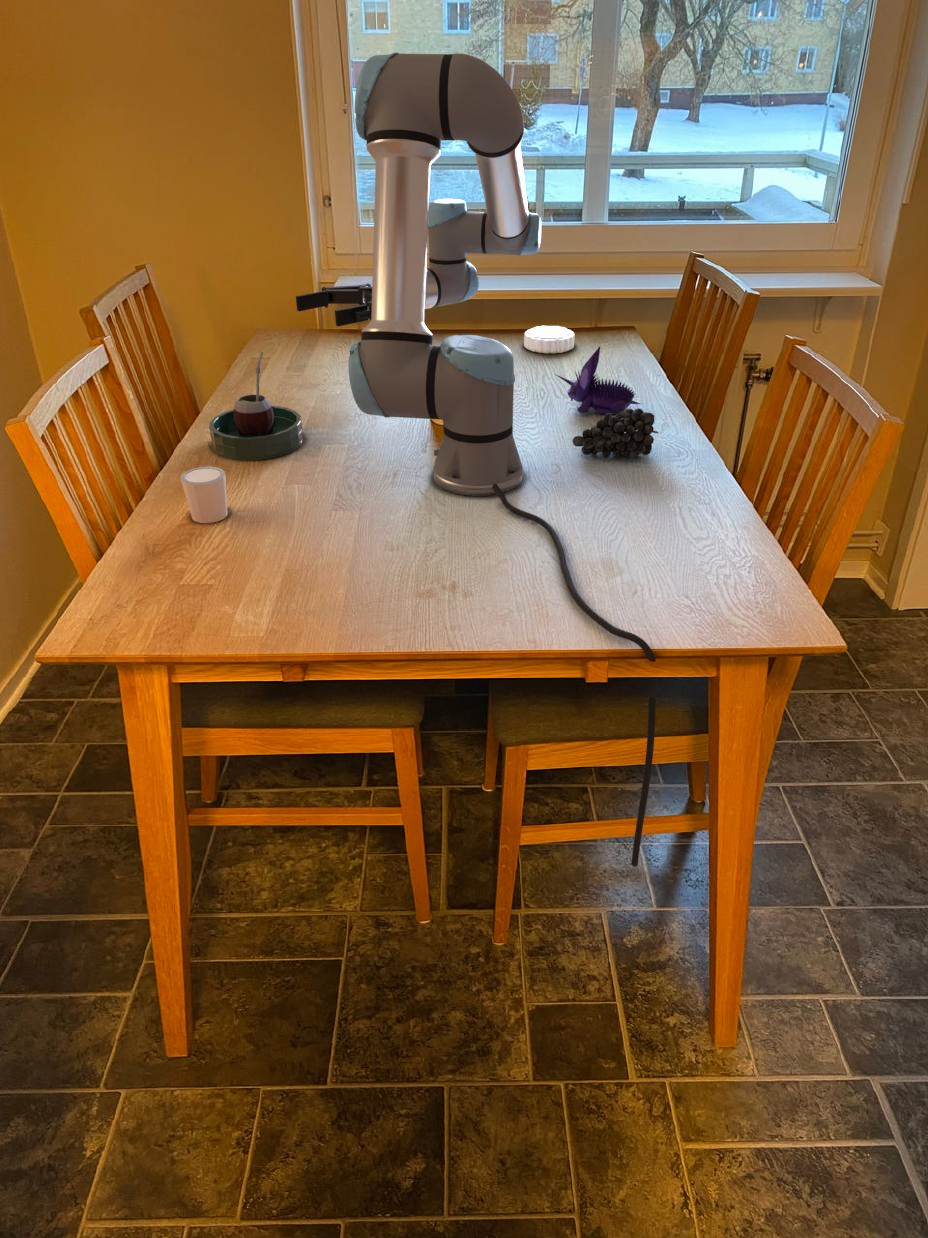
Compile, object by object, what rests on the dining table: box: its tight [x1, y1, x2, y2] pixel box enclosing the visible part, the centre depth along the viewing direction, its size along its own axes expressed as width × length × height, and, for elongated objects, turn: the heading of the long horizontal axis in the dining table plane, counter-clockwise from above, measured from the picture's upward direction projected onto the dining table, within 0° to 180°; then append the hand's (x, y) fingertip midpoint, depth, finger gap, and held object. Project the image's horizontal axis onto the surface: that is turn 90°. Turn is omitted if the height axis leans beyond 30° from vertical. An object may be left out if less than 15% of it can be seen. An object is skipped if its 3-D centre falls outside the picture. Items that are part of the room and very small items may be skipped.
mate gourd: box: [233, 351, 274, 437], centre depth 170 cm, size 8×8×15 cm
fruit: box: [572, 408, 659, 459], centre depth 167 cm, size 9×8×15 cm
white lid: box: [523, 325, 576, 354], centre depth 222 cm, size 12×12×4 cm
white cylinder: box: [179, 466, 229, 524], centre depth 147 cm, size 7×7×7 cm
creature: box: [554, 345, 642, 415], centre depth 184 cm, size 9×18×12 cm, turn 80°
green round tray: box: [209, 405, 304, 461], centre depth 173 cm, size 17×17×4 cm
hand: (316, 310), depth 172 cm, fingers open, 13 cm apart
